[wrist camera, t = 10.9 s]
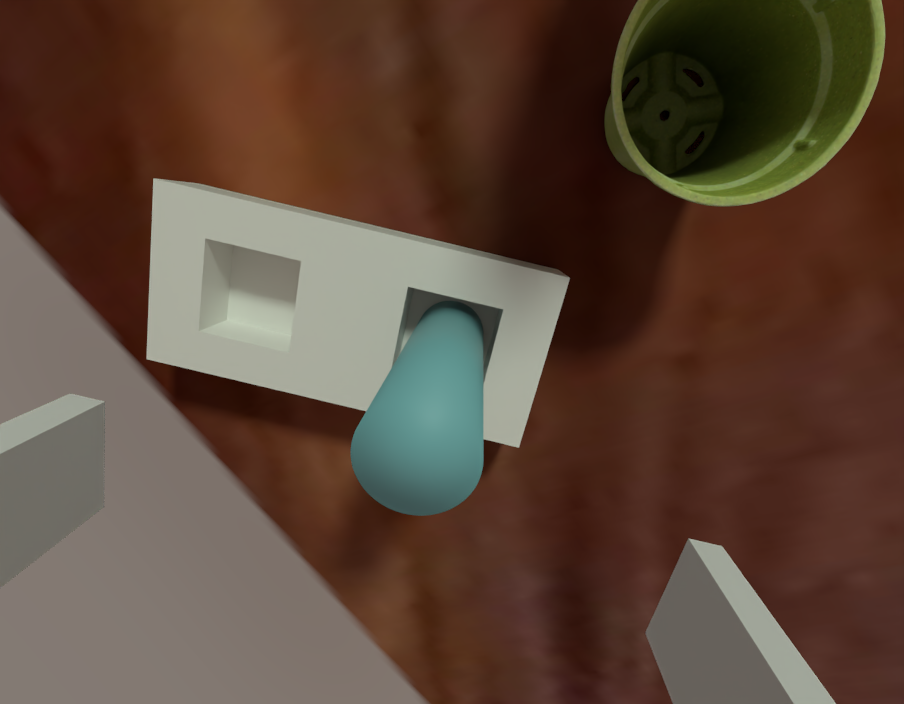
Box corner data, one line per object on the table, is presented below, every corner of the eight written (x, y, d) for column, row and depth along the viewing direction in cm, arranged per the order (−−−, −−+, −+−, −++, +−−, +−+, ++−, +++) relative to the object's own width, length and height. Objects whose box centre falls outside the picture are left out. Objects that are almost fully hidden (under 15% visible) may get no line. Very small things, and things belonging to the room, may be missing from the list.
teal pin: (425, 293, 28) (362, 382, 13) (490, 309, 28) (498, 414, 13) (411, 356, 29) (340, 498, 15) (474, 371, 29) (465, 528, 15)
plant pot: (668, 242, 27) (750, 253, 19) (536, 145, 26) (562, 111, 18) (789, 91, 25) (946, 27, 16) (649, -23, 24) (740, -153, 15)
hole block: (199, 183, 28) (153, 178, 24) (558, 269, 28) (570, 277, 24) (188, 341, 31) (146, 359, 27) (514, 418, 31) (518, 447, 27)
